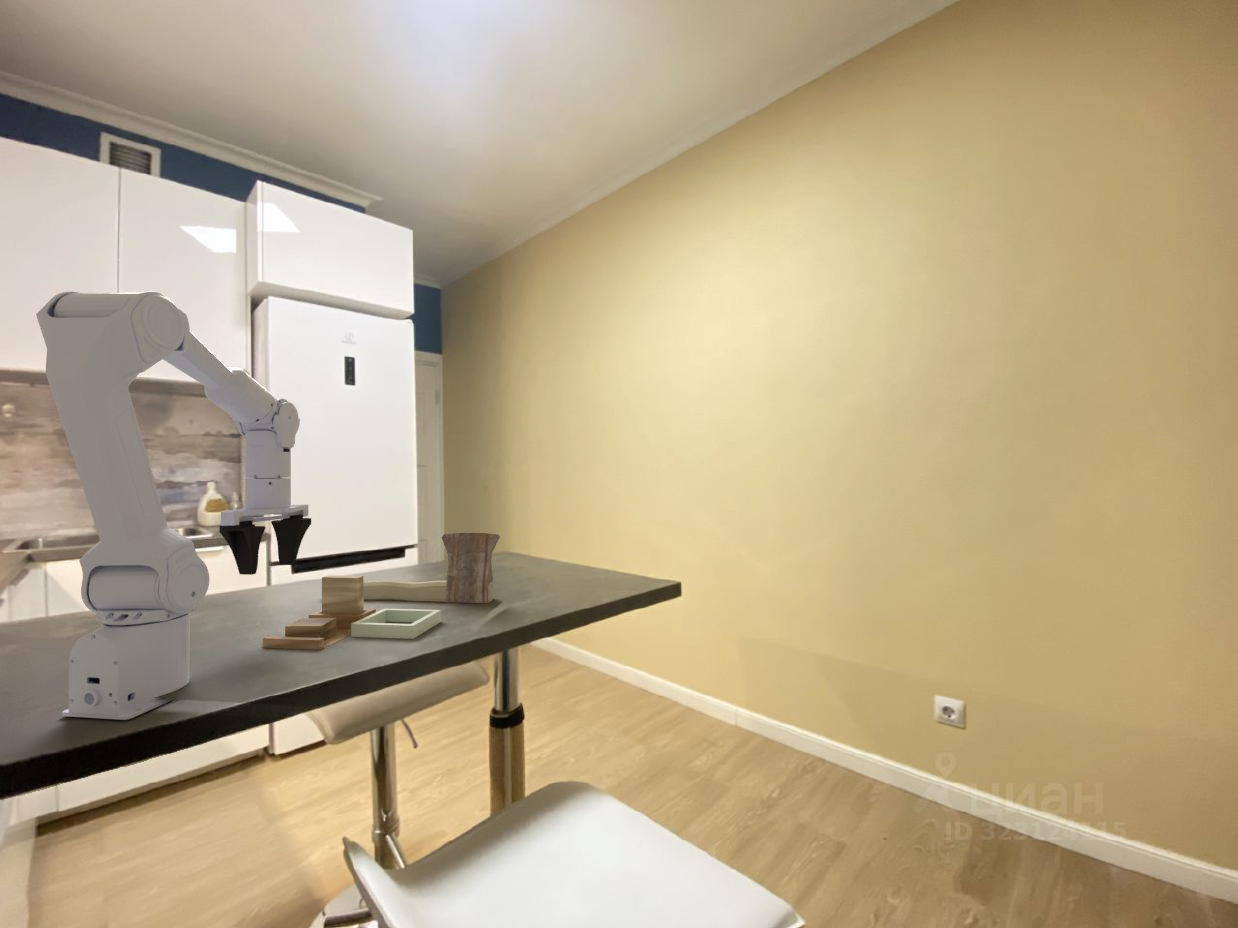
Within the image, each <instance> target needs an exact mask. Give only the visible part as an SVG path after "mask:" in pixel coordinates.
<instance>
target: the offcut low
mask: <svg viewBox="0 0 1238 928" xmlns="http://www.w3.org/2000/svg"><path fill="white" fill-rule="evenodd" d="M336 635H337V627H334V628H332V629H330V630H328V631H327V632H325V633H323V634H321V635H285V634H284V637H312V638H324V641H325V640H327V639H329V638H331V637H334V636H336Z"/></svg>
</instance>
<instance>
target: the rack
mask: <svg viewBox="0 0 1238 928" xmlns="http://www.w3.org/2000/svg"><path fill="white" fill-rule="evenodd" d="M376 612H377V609H376V608H364V612H363V613H361V614H327V613H322V609H319V610H317V611H315V612H312V613H310V614H308V618H336V626H335V627H337V635H336V636H334V637H331V638H329V639H327V640H325V641H324V638H312V637H285V635H284V636H282V635H281V636H280V635H279V636H278V635H267V636H265V637H262V646H261V648H267V649H268V648H269V649H272V648H273V649H293V650H294V649H296V650H298V649H299V650H323V649H325V648H327V647H330V646H331V645H334V644H335V643H338V642H339V641H342V640H344V639H346V638H347V637H351V624H352V623H354V622H356V621H358V620H361V619H363V618H365V617H367V616H369V615H371V614H374V613H376Z"/></svg>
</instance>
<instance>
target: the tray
mask: <svg viewBox="0 0 1238 928" xmlns="http://www.w3.org/2000/svg"><path fill="white" fill-rule="evenodd" d="M391 622H393V623H391ZM396 622H397V623H396ZM441 622H442V609H421V608H420V609H415V608H414V609H412V608H411V609H410V608H382V609H380V610H378V611H376V613H374V614H371V615H369V616H367V617H365V618H363V619H361V620H358V621H356V622H354V623H352V624H351V635H350V637H353V638H381V639H382V638H383V639H408V640H409V639H412V640H414V639H415V638H417V637H419V636H420V635H421V634H423V633H425V632H427V631H428V630H430V629H432V628H433V627H435V626H437V625H438V624H440V623H441Z"/></svg>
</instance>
